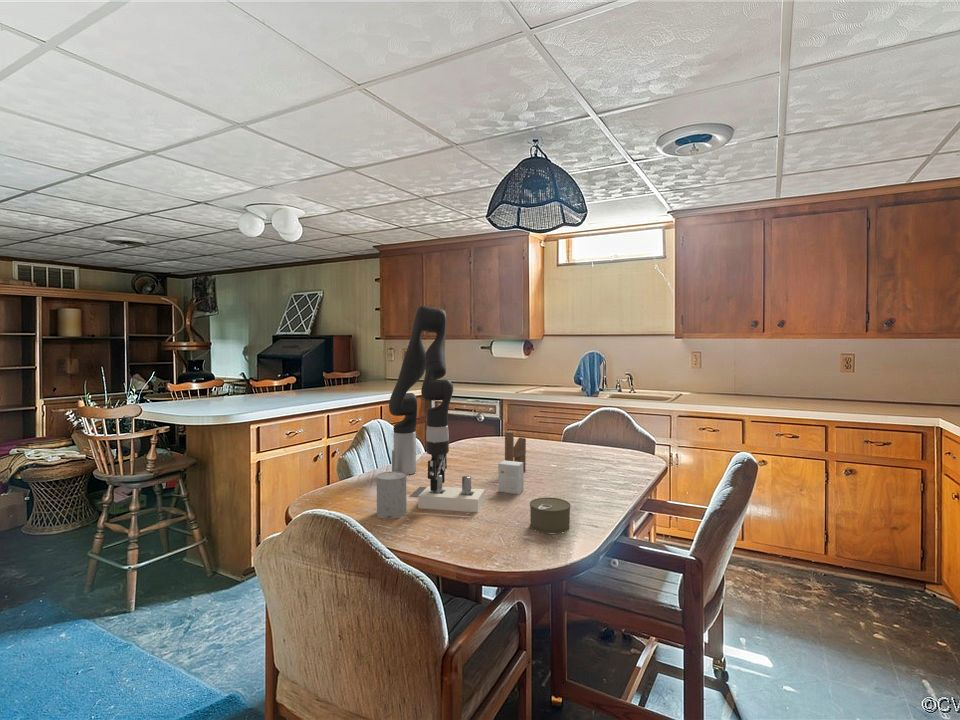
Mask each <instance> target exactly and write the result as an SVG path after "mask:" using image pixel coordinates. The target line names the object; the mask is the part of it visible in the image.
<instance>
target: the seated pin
mask: <svg viewBox="0 0 960 720" xmlns="http://www.w3.org/2000/svg"><path fill="white" fill-rule="evenodd" d="M461 488H462V495H466V496H471V489H472V476H471V475H463V476H462V477H461Z"/></svg>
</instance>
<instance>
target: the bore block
mask: <svg viewBox="0 0 960 720" xmlns="http://www.w3.org/2000/svg"><path fill="white" fill-rule="evenodd" d="M426 487H427V488H426V489H425V490H424V491H422V492H421V493H420V494H419V495H418V497H417V499H418V500H417V503H418V504H417V506H418V509H426V510H427V509H428V510H439V511H440V510H441V511H452V512H453V511H454V512H455V511H456V512H465V513H466V512H468V513H470V512H471V513H477V514H479V513H480V510H481V509H482V507H483V506H484V505H485V500H486V497H485V496H486V495H485V491H486V490H485V488H482V489H481V488H471V496H466V495H462V487H453V486H442V494H436V493H433V491H431V490H430V485H428V486H426Z"/></svg>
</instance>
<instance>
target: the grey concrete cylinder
mask: <svg viewBox="0 0 960 720" xmlns="http://www.w3.org/2000/svg"><path fill="white" fill-rule="evenodd" d="M375 476H376V477H375V478H376V517H377V518H380V519H385V520H393V519H398V518H403V517H405V516H406V515H407V513H408V510H407V506H408V503H407V476H408V475H406V473H403V472H396V471H393V472H392V471H385V472H384V471H383V472H380V473H377V474H376V475H375ZM404 515H405V516H404Z"/></svg>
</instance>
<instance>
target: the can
mask: <svg viewBox="0 0 960 720" xmlns="http://www.w3.org/2000/svg"><path fill="white" fill-rule="evenodd" d="M571 507H572V506H571V503H570V502H569V501H567V500H565V499H562V498H558V497H539V498H538V497H537V498H534V499H532V500H530V501H529V511H530V512H529V513H530V517H529V518H530V519H529V520H530V524H529V525H530V528H531V529H532V530H533V529H534V530H533V531H535V530H536V531H535V532H537V531H539V532H538V533H541V532H543V533H542V534H546V533H559V534H563V533H562V532H564V533H566V532H568V531H569V530H570V528H571V527H570V523H571V521H570V518H571V511H570V510H571ZM567 530H568V531H567ZM565 531H566V532H565Z"/></svg>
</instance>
